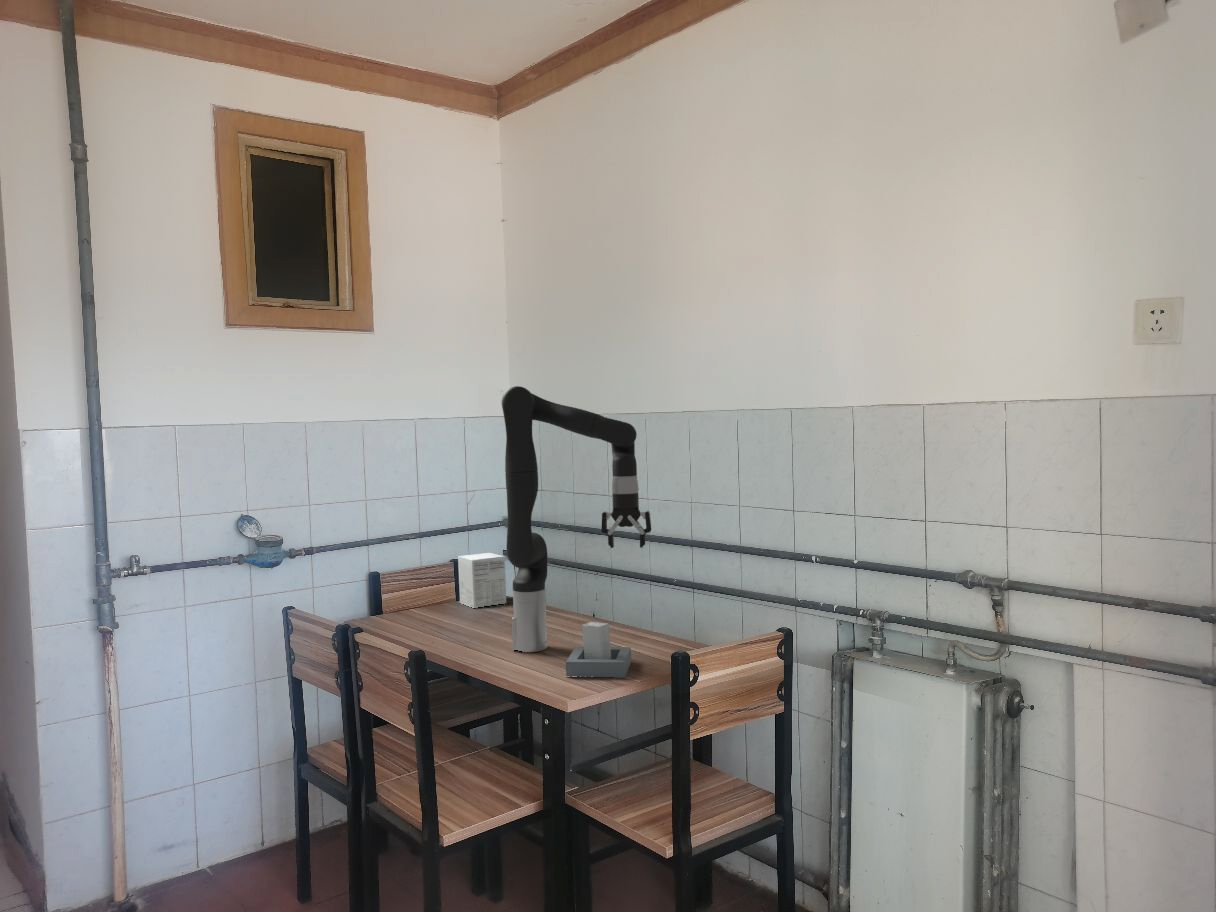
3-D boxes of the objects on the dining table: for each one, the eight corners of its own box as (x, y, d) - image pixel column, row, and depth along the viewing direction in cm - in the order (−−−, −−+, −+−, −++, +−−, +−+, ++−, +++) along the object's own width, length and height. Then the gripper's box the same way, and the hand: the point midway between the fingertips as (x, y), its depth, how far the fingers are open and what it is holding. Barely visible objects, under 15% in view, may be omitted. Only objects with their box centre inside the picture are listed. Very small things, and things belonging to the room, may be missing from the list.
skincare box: (612, 669, 237) (611, 623, 236) (602, 673, 233) (600, 626, 233) (593, 665, 240) (592, 620, 240) (583, 669, 237) (581, 624, 236)
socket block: (566, 677, 230) (565, 661, 230) (576, 661, 245) (575, 647, 245) (624, 677, 228) (624, 662, 228) (631, 661, 243) (630, 647, 243)
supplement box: (507, 604, 326) (505, 556, 325) (473, 609, 319) (471, 560, 319) (492, 598, 337) (490, 552, 337) (458, 603, 330) (457, 555, 330)
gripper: (598, 493, 258) (600, 549, 259) (648, 492, 256) (650, 549, 257) (602, 491, 266) (604, 546, 266) (651, 490, 264) (652, 545, 264)
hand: (627, 547), depth 262 cm, fingers open, 8 cm apart
